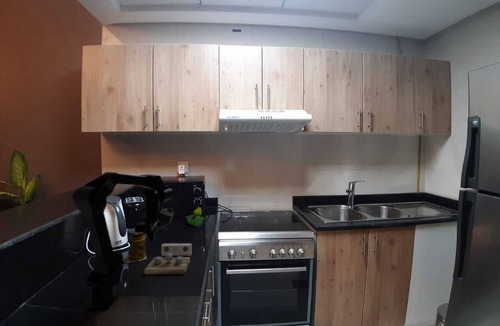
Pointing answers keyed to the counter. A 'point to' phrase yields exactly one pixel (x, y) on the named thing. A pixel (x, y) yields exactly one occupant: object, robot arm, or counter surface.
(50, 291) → the counter surface
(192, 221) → the fruit basket
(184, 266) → the board
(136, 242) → the condiment
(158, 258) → the button left
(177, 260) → the button right
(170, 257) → the button mid
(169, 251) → the white flat bar
